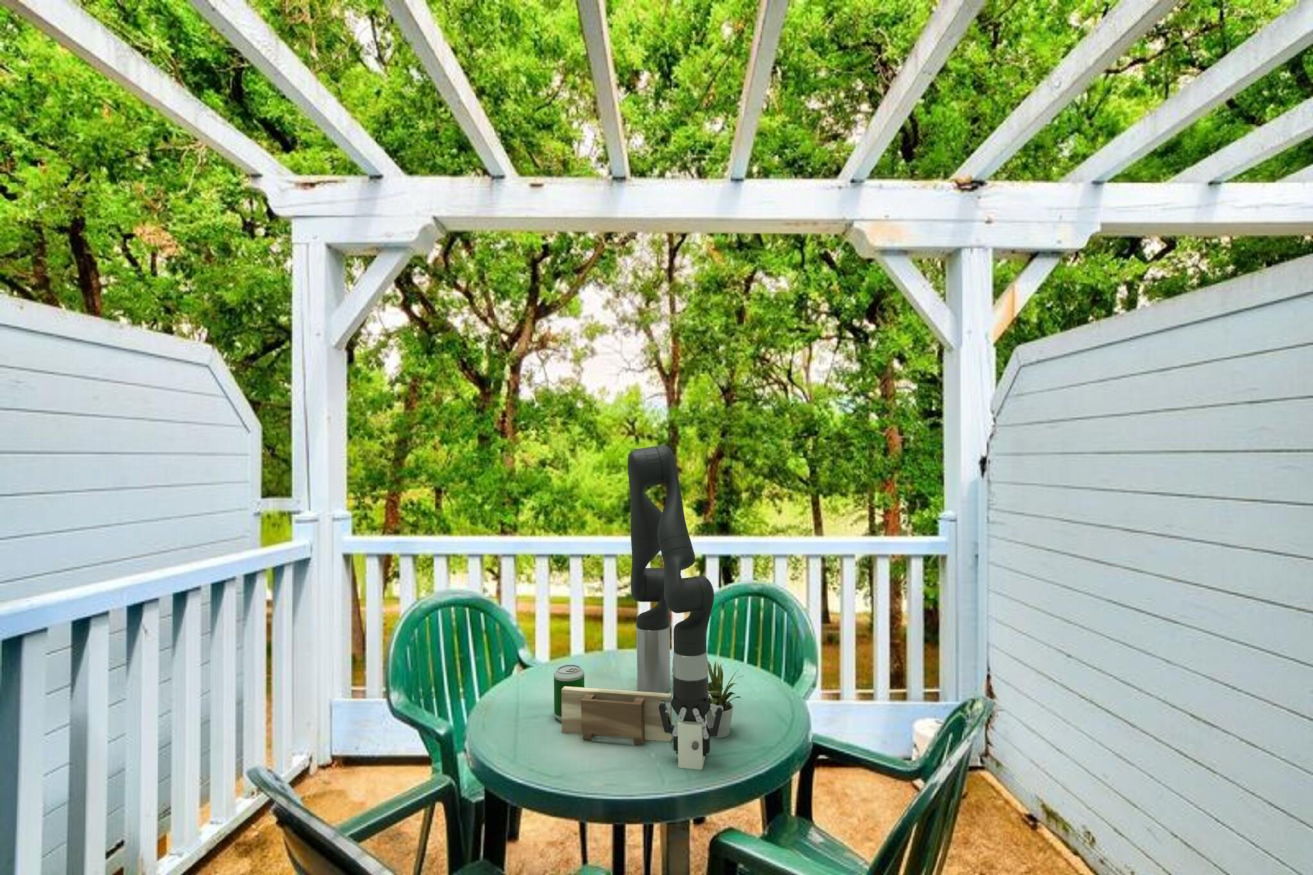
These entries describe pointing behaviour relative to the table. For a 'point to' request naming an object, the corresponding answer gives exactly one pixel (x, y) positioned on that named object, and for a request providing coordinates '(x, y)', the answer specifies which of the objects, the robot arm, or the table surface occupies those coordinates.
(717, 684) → the house plant
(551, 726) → the table surface
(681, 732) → the cabinet
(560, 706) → the soda can
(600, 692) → the wall board
